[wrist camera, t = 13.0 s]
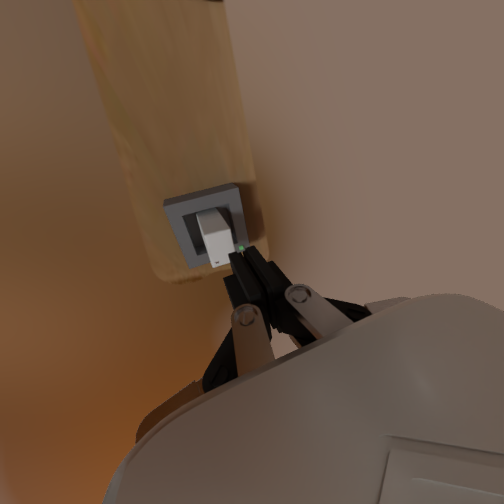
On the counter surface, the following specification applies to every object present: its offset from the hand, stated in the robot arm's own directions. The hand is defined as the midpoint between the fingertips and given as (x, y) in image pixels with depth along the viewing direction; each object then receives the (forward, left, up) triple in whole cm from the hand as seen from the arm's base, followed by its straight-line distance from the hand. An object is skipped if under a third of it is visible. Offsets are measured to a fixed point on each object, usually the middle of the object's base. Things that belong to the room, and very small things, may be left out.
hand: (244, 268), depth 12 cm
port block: (+8, 0, -29) cm, 30 cm away
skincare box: (+8, 0, -29) cm, 30 cm away
